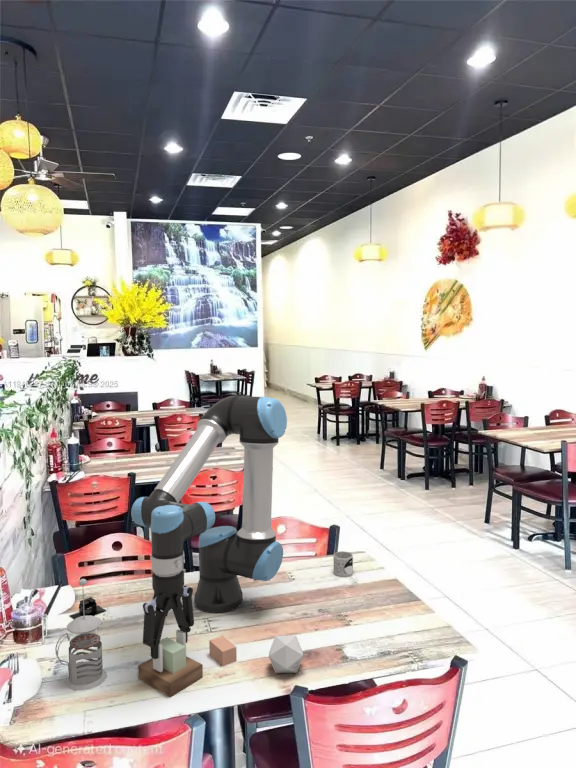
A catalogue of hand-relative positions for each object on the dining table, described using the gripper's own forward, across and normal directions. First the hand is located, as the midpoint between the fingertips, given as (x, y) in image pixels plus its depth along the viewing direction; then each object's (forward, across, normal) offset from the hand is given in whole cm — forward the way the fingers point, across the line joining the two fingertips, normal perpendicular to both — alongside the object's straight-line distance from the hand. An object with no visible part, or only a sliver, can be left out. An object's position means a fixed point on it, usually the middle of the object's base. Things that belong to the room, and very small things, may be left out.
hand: (169, 663), depth 145 cm
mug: (+3, +80, +2) cm, 80 cm away
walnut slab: (+4, 0, 0) cm, 4 cm away
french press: (+4, -14, +16) cm, 21 cm away
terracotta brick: (+4, +14, -4) cm, 15 cm away
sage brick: (0, 0, 0) cm, 0 cm away
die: (+4, +20, -20) cm, 29 cm away
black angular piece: (+4, +7, +46) cm, 46 cm away
